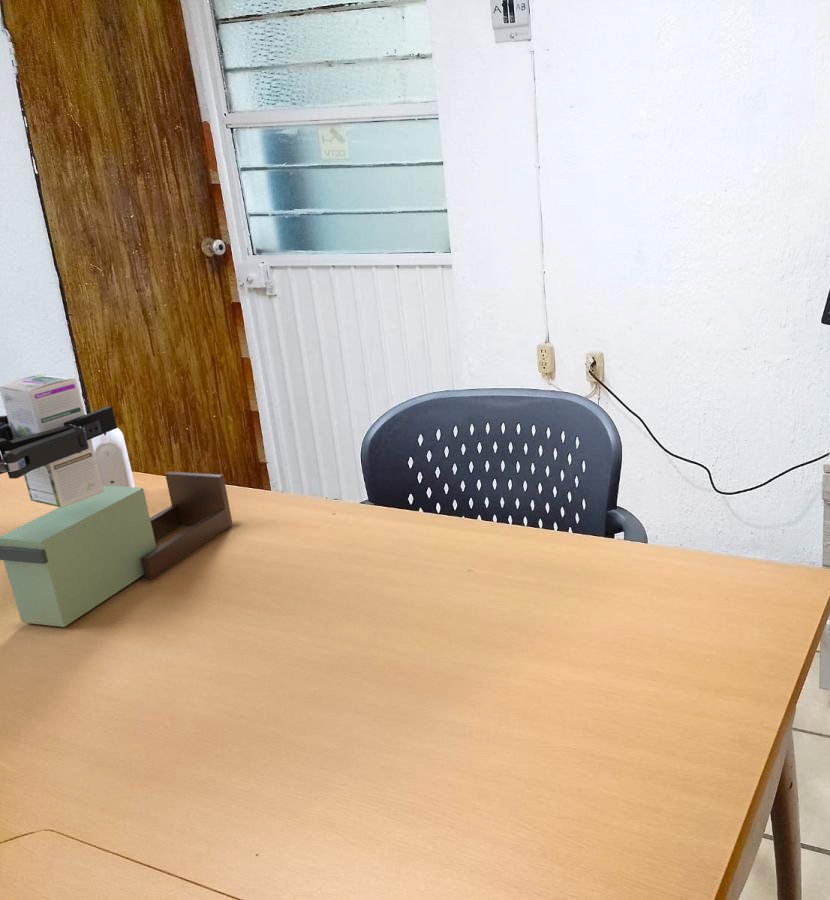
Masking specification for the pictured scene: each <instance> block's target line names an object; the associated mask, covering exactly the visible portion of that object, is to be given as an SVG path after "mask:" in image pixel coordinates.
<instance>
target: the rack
mask: <svg viewBox="0 0 830 900" xmlns="http://www.w3.org/2000/svg"><path fill="white" fill-rule="evenodd" d="M164 476H165V480H166V484H167V485H166V486H167V490H168V493H169V499H170V503H171V505H170V506H168V507H166V508H164V509H163V510H161V511H159V512H158V513H156V514H154V515H152V516H150V521H151V525H152V530H153V534H154V538H155V541H156V540H157V539H159V538H161V537H162V536H164V535H166V534H167V533H169V532H170V531H172V530H174V529H175V528H177V527H179V526H180V525H191V526H189V527H188V528H186V529H185V530H183V531H182V532H180V533H178V534H176V535H175V536H174V537H173V536H172V538H170V539H168V540H167V541H166V542H164V543H162V544H161V545H159V546H158V547H157V548H156V549H154V550H153V551H151V552H150V553H148V554H147V555H145V556H143V557H142V558H141V561H142V565H143V569H144V573H145V574H144V578H145V579H147V580H154V579H155V578H156V577H158V576H159V575H160V574H162V573H164V572H165V571H167V570H169V568H171V567H172V566H174V565H176V564H177V563H178V562H181V560H183V559H184V558H185V557H187V556H189V555H190V554H192V553H193V552H194V551H196V550H197V549H199V548H200V547H202V546H204V545H205V544H206V543H208V542H209V541H211V540H212V539H214V538H216V537H217V536H218V535H220V534H221V533H222V532H224V531H226V530H227V529H229V528H230V527H232V526H233V525H234V524H233V518H232V513H231V508H230V503H229V499H228V493H227V487H226V482H225V477H224V474H218V473H217V474H216V473H201V472H199V473H198V472H183V471H167V472H166V473H165V474H164Z"/></svg>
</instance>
